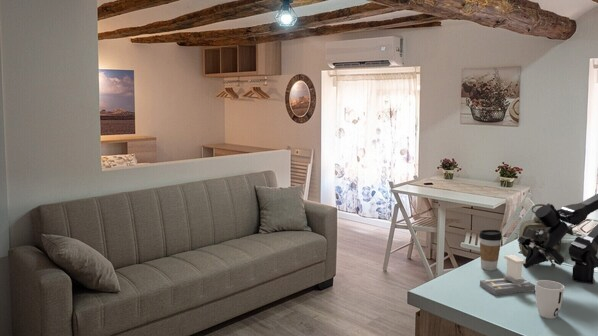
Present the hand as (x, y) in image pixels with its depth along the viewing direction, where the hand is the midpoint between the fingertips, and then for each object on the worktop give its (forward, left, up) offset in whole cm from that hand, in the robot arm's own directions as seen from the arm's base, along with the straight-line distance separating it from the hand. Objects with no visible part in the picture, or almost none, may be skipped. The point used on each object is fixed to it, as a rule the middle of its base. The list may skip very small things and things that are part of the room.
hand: (524, 267), depth 187 cm
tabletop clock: (-1, -28, -7) cm, 29 cm away
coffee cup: (+15, -14, -7) cm, 22 cm away
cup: (-10, +22, -7) cm, 25 cm away
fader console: (+5, +5, -7) cm, 10 cm away
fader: (+3, +3, -4) cm, 6 cm away
